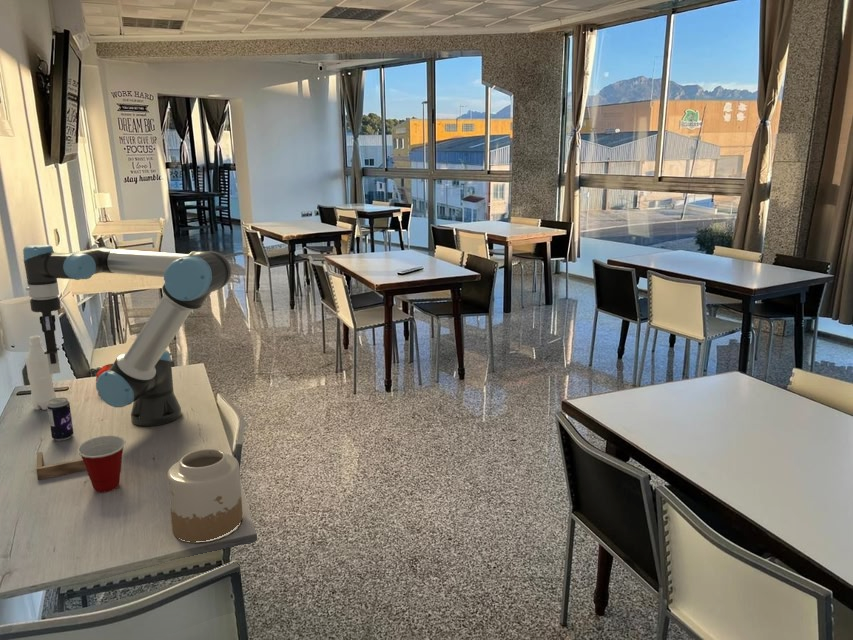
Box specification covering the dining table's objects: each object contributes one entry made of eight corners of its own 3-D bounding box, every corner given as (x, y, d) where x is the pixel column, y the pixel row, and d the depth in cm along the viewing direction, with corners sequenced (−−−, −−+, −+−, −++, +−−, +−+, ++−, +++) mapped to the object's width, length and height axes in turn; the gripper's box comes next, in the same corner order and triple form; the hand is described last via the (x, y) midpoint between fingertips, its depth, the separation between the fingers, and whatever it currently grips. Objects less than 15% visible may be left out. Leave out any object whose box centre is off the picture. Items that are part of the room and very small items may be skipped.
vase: (165, 519, 142) (158, 453, 138) (230, 500, 150) (226, 437, 146) (182, 552, 130) (175, 481, 126) (252, 529, 138) (248, 462, 134)
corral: (89, 452, 174) (88, 443, 174) (91, 468, 165) (90, 458, 164) (38, 462, 168) (37, 452, 167) (37, 479, 159) (36, 469, 158)
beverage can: (64, 442, 181) (58, 404, 178) (47, 440, 182) (42, 403, 179) (78, 434, 186) (73, 397, 183) (62, 433, 187) (57, 396, 184)
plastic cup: (82, 502, 149) (76, 457, 146) (83, 482, 158) (77, 440, 155) (131, 492, 154) (126, 448, 151) (129, 473, 163) (124, 432, 160)
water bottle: (61, 406, 208) (51, 336, 202) (39, 413, 202) (28, 340, 196) (50, 402, 212) (40, 332, 206) (28, 408, 206) (17, 337, 200)
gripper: (30, 294, 184) (40, 368, 190) (28, 302, 173) (40, 381, 179) (58, 292, 188) (68, 364, 194) (59, 300, 177) (69, 376, 183)
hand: (55, 372), depth 186 cm, fingers closed
